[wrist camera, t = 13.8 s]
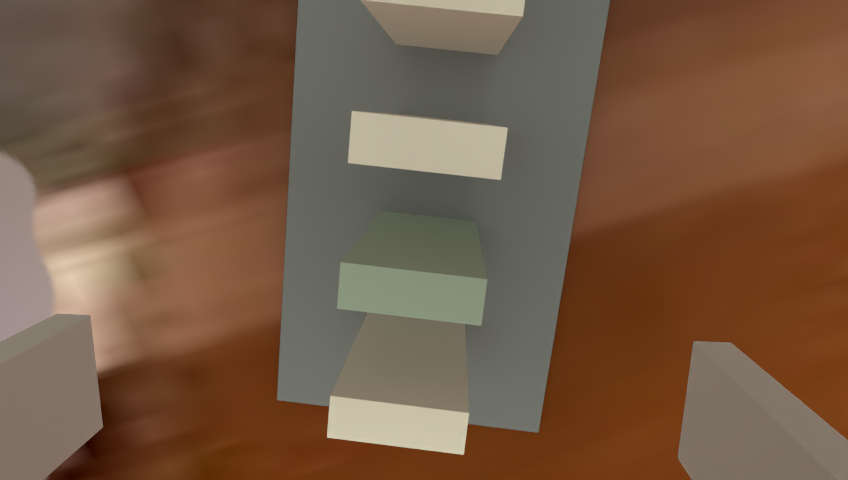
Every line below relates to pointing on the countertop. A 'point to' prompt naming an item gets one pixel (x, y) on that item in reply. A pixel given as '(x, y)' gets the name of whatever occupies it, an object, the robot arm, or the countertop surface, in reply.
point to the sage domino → (416, 269)
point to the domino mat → (440, 187)
